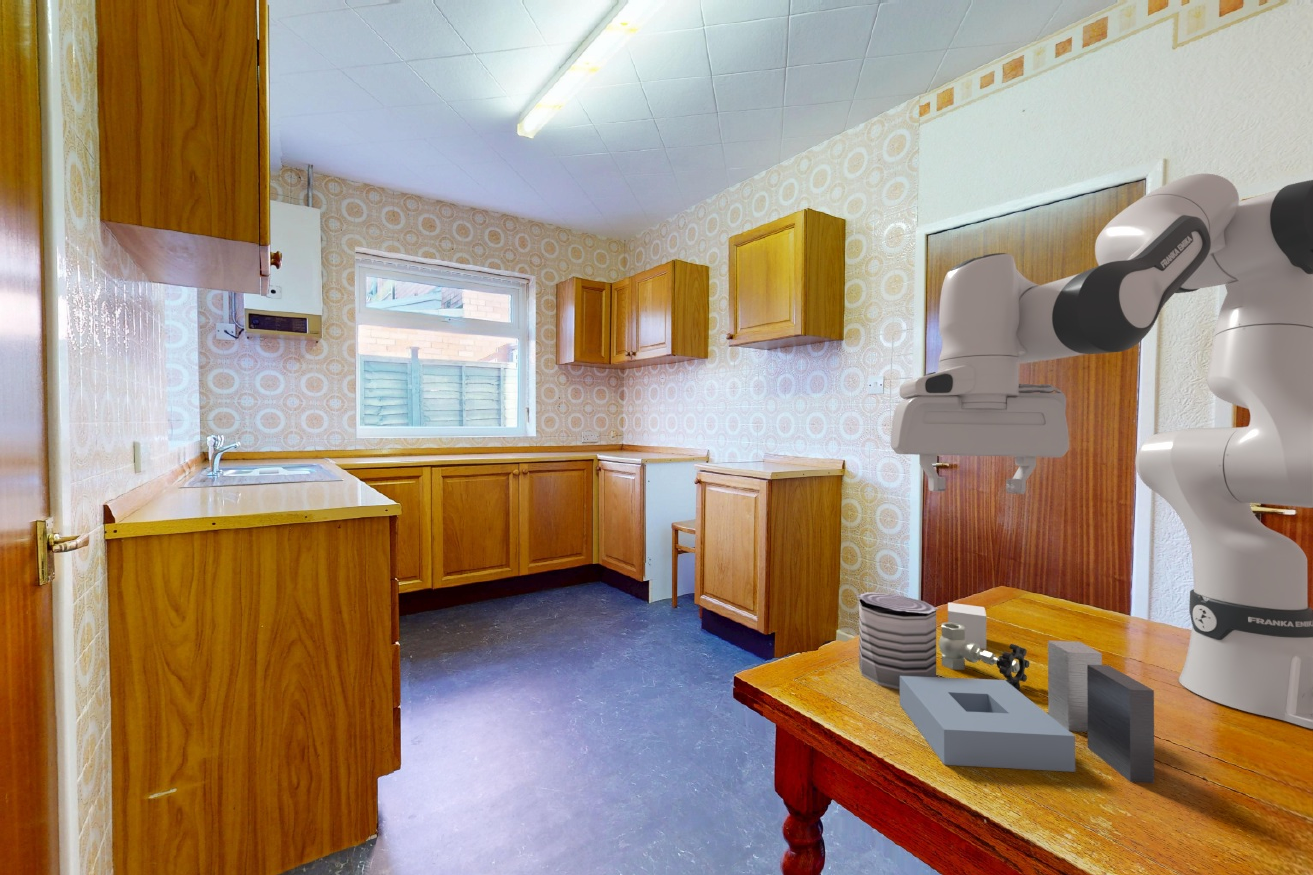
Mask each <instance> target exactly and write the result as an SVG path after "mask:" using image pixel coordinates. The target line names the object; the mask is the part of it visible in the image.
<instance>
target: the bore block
mask: <svg viewBox="0 0 1313 875" xmlns="http://www.w3.org/2000/svg"><path fill="white" fill-rule="evenodd" d="M1006 680H1007V679H1004V680H1003V679H989V678H988V679H986V678H966V677H965V678H964V677H963V678H961V677H959V678H958V677H957V678H956V677H938V676H936V677H917V676H900V690H899V705H900V707H901V709H902V710H903V711H904V713H905V714H906V715H907V717H908V718H909V719H910V721H911V722H912V723H913V724H914V726H915V727H916V729H917V730H918V731H919V733H920V734H921V736H923V738H924V739H925V741H926V742H927V743H928V744H929V747H930V748H931V749H932V750H933V751H934V753H935V754H936V756H937V757H938V759H939V760H940V761H941V762H942V764H943V765H944V766H962V767H963V766H964V767H980V768H981V767H982V768H998V769H999V768H1000V769H1016V770H1017V769H1019V770H1034V771H1053V772H1055V771H1056V772H1070V773H1071V772H1072V773H1073V772H1074V773H1076V735H1074V734H1073V733H1072V731H1068V730H1067V729H1066V728H1065V727H1063V726H1062V725H1061V724H1060V723H1058V722H1057V721H1056V720H1055V719H1053V718H1052V717H1051V716H1049V715H1048V713H1047V712H1046V711H1045V710H1043V709H1042V708H1041V707H1039V706H1038V705H1037V704H1036V703H1035V702H1033V701H1032V700H1031V699H1029V698H1028V697H1027V696H1025V695H1024V694H1023V693H1022V692H1021V691H1019V690H1017V689H1016V688H1014V687H1013V686H1012V685H1011V684H1009V683H1008V682H1007V681H1006Z"/></svg>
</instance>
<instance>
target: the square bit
mask: <svg viewBox="0 0 1313 875" xmlns="http://www.w3.org/2000/svg"><path fill="white" fill-rule="evenodd" d="M1047 655H1048V657H1047V659H1048V660H1047V669H1048V670H1047V677H1048V678H1047V679H1048V682H1047V687H1048V688H1047V689H1048V690H1047V693H1048V694H1047V698H1048V700H1047V702H1048V703H1047V705H1048V706H1047V709H1048V710H1047V711H1048V713H1047V714H1048V715H1049V716H1051V717H1052V718H1053V719H1055V720H1056V721H1057V722H1058V723H1060V724H1061V725H1062V726H1063V727H1065V728H1066V729H1067V730H1068V731H1070V732H1083V733H1085V732H1086V733H1088V708H1087V665H1103V663H1102V662H1103V658H1102V656H1103V653H1102V652H1099V651H1098V650H1096V649H1094V648H1092V647H1090V646H1089V645H1086V644H1085V643H1083V642H1081V641H1075V640H1073V641H1069V640H1068V641H1067V640H1066V641H1065V640H1047Z"/></svg>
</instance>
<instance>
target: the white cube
mask: <svg viewBox="0 0 1313 875" xmlns="http://www.w3.org/2000/svg"><path fill="white" fill-rule="evenodd" d="M947 622H949V623H956V624H960V625H962V626H964V627H965V640H966V642H967V643H969V642H972V643H975V644H978V645H979V646H980V649H981V650H987V613H986V609H985V607H984V606H978V605H977V606H976V605H971V604H962V603H955V602H947Z"/></svg>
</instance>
